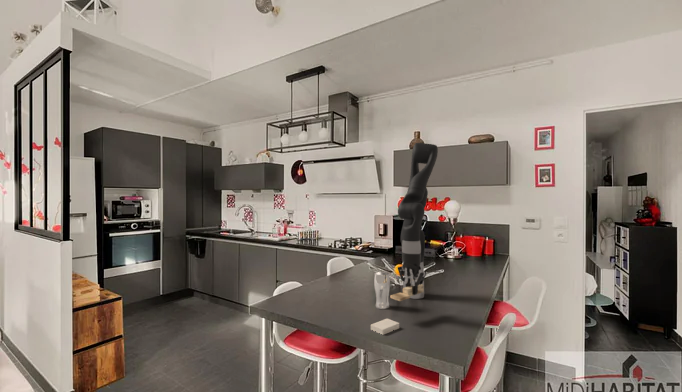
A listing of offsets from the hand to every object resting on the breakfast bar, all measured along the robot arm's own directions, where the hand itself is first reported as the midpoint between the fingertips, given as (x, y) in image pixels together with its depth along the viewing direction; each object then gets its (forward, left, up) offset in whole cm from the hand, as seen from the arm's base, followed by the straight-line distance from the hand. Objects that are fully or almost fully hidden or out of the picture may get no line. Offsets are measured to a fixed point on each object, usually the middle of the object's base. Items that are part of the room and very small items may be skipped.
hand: (411, 293), depth 126 cm
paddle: (0, -2, 0) cm, 2 cm away
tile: (+1, -13, -9) cm, 15 cm away
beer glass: (-16, -1, -10) cm, 19 cm away
